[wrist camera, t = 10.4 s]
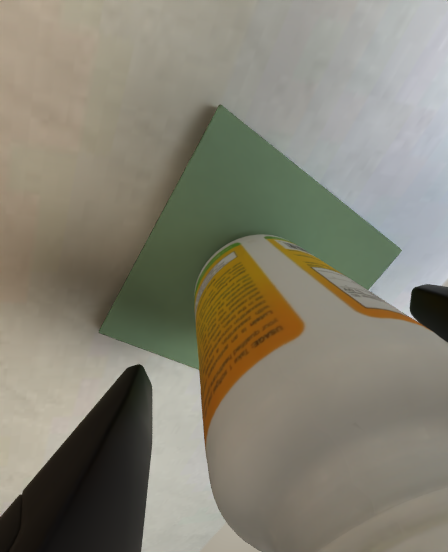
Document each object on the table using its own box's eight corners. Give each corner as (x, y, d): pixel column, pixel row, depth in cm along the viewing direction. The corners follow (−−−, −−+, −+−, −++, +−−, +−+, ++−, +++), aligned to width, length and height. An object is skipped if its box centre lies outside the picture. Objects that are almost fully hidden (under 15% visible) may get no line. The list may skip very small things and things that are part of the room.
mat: (395, 247, 12) (402, 250, 11) (273, 392, 14) (275, 398, 14) (218, 106, 8) (220, 103, 8) (100, 327, 11) (97, 332, 11)
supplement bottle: (206, 352, 12) (272, 894, 3) (180, 246, 10) (133, 1141, 1) (312, 327, 12) (655, 742, 3) (310, 220, 10) (1311, 598, 1)
